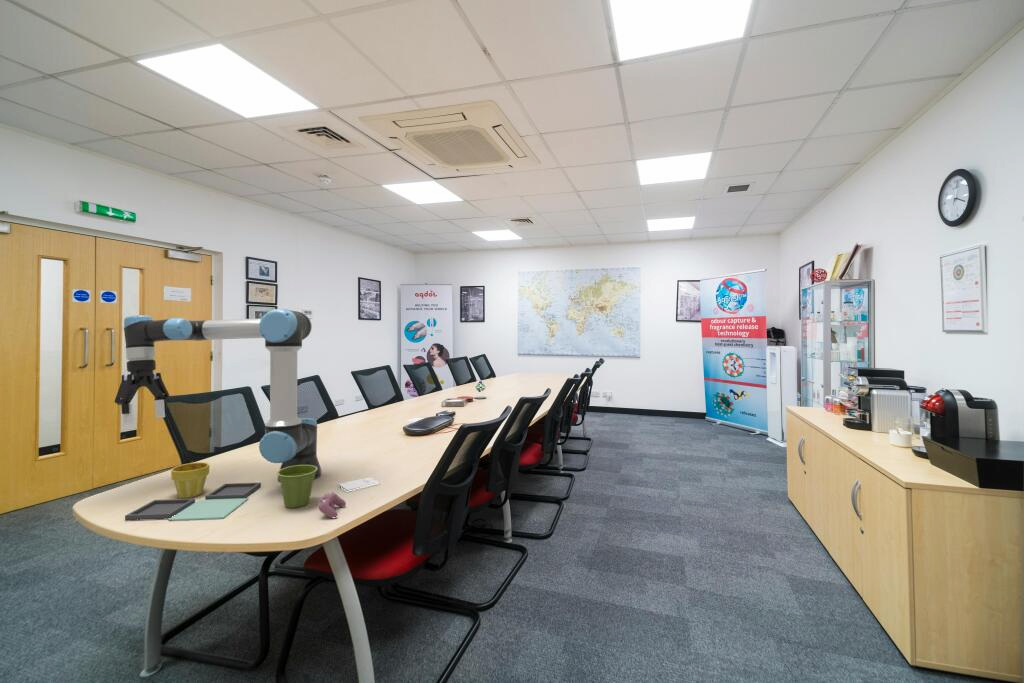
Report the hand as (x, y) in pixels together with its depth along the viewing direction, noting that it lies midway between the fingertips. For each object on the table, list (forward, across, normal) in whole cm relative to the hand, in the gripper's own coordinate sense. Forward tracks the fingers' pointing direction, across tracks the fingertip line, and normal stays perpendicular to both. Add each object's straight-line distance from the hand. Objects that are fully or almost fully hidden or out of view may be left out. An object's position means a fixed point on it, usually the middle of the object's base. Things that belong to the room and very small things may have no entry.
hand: (145, 420), depth 144 cm
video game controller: (+34, +18, +67) cm, 77 cm away
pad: (+29, +15, +29) cm, 44 cm away
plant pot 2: (+32, +11, +54) cm, 63 cm away
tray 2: (+28, +1, +28) cm, 40 cm away
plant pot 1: (+27, +2, +14) cm, 31 cm away
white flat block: (+33, -6, +68) cm, 76 cm away
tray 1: (+28, +16, +15) cm, 35 cm away
